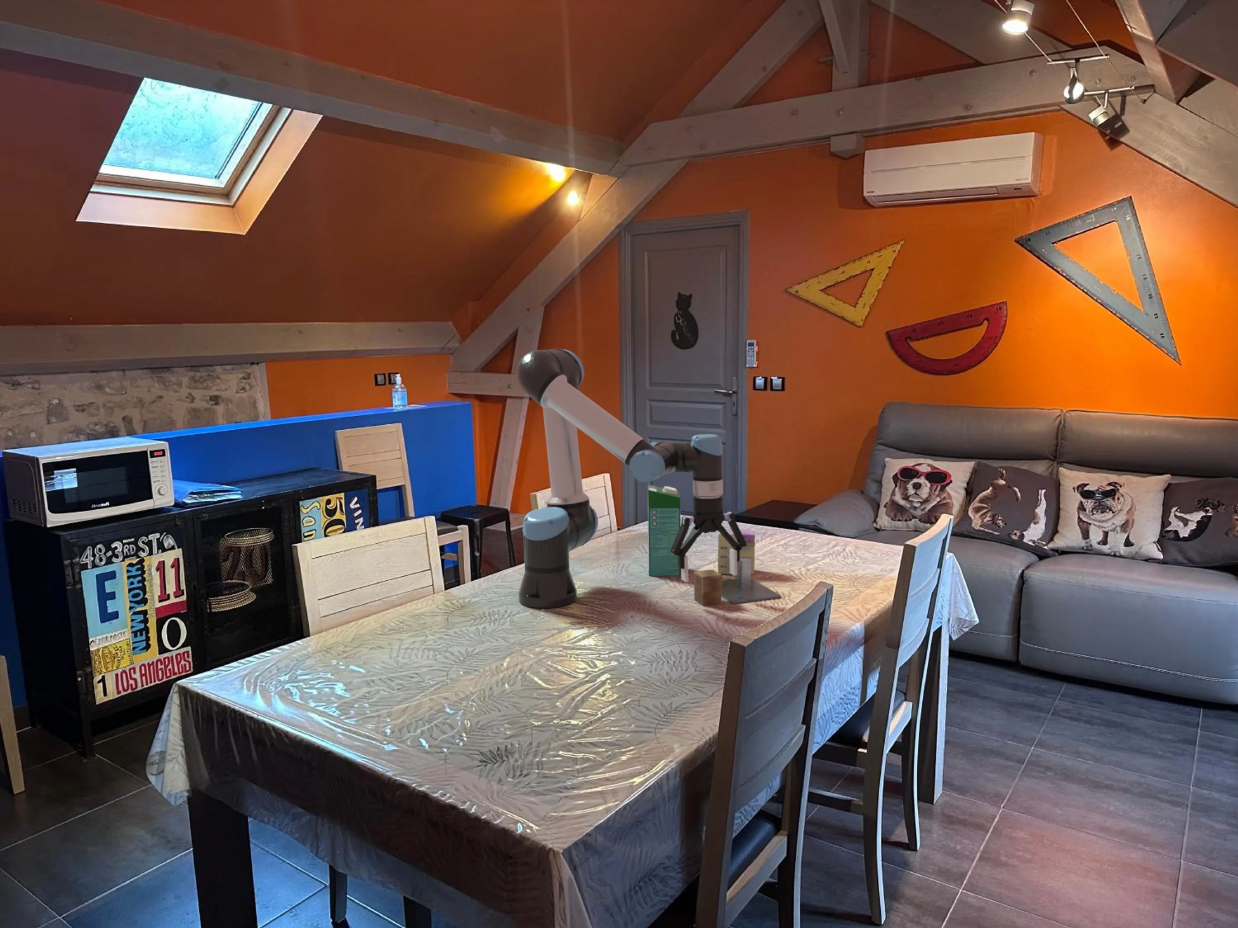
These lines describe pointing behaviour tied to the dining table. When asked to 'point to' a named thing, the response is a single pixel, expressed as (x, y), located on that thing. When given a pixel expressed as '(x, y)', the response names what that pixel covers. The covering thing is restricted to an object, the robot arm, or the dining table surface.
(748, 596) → the grey plate
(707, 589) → the brown rectangular block
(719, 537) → the box
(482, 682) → the dining table surface
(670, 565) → the milk carton
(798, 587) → the dining table surface
